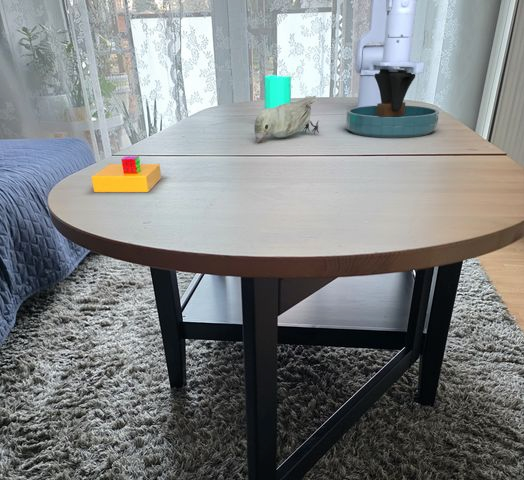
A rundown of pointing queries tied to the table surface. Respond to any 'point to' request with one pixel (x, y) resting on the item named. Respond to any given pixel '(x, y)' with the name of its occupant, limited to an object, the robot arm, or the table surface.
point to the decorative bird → (285, 119)
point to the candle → (277, 90)
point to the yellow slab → (127, 176)
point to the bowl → (392, 122)
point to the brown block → (389, 110)
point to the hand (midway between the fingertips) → (391, 108)
